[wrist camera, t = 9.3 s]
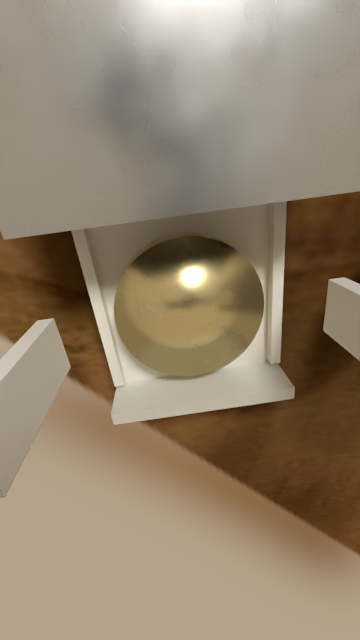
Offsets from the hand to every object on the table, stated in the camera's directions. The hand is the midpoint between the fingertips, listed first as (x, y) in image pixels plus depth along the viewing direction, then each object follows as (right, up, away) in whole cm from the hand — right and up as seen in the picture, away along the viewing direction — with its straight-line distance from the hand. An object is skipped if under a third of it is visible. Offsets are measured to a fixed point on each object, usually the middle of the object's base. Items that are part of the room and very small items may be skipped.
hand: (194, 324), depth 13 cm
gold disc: (0, +1, +3) cm, 3 cm away
